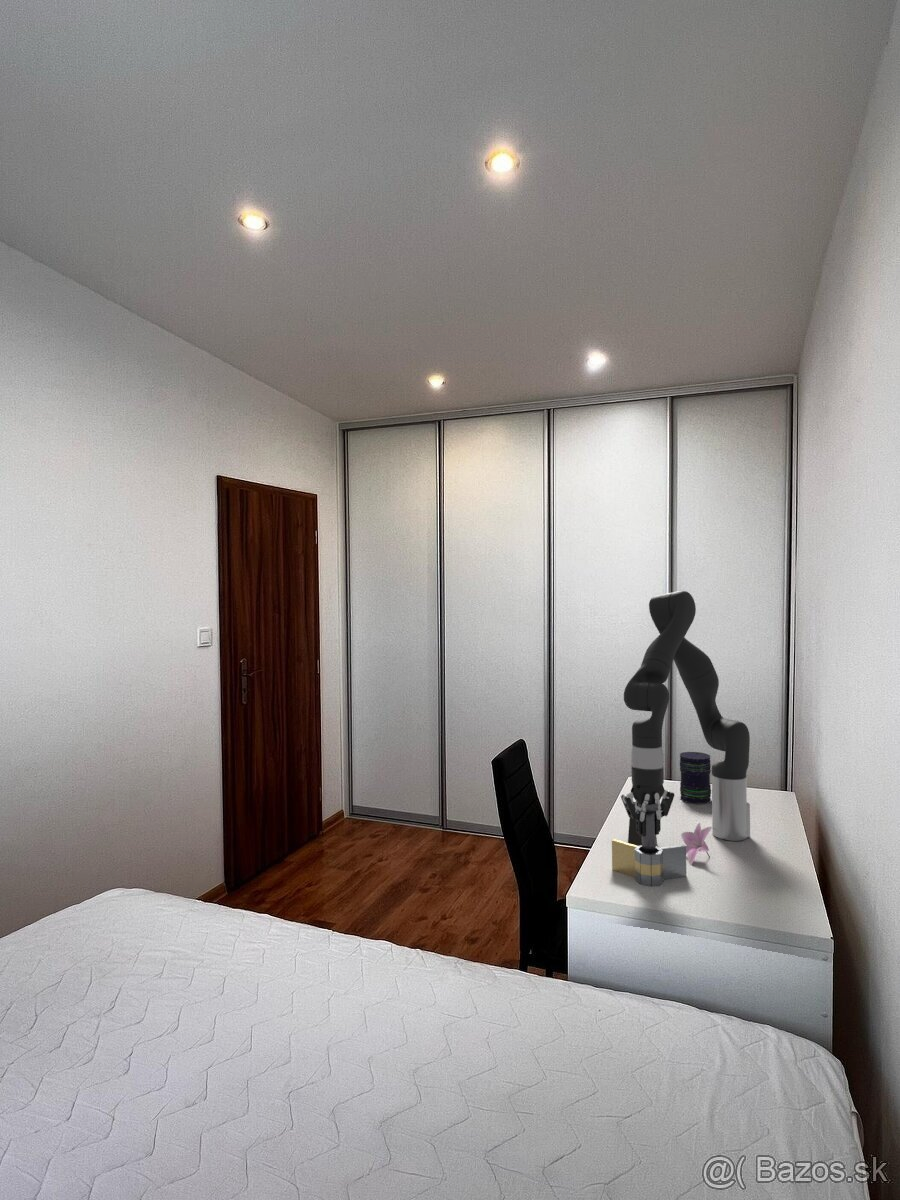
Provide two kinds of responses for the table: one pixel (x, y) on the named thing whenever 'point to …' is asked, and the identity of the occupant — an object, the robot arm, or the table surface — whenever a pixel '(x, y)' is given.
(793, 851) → the table surface
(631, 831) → the phone stand
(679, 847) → the hinge
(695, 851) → the lily
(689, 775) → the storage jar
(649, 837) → the hinge pin
